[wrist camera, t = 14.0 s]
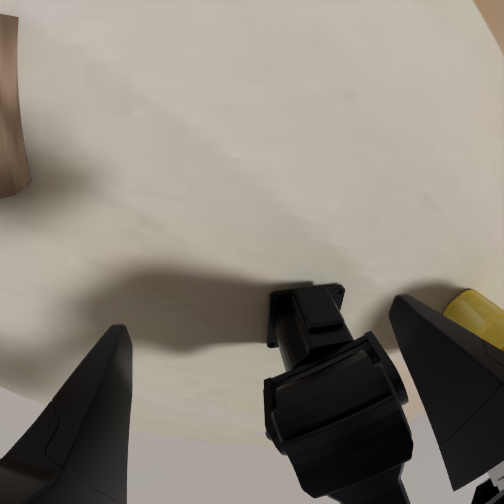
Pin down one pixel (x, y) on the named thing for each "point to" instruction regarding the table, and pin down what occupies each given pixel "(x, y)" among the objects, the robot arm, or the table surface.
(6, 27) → the walnut stand
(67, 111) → the table surface
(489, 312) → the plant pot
